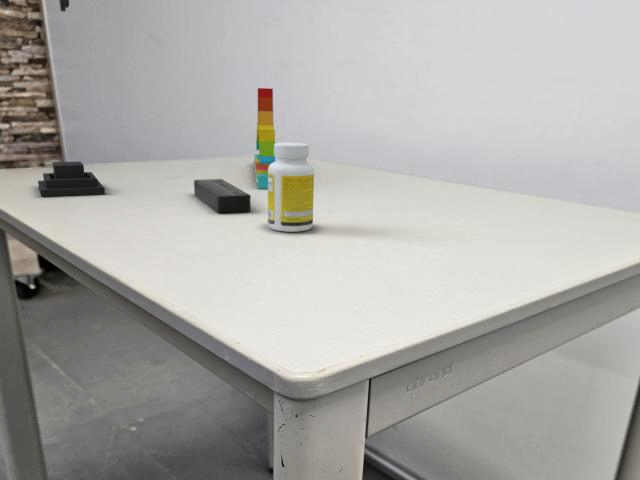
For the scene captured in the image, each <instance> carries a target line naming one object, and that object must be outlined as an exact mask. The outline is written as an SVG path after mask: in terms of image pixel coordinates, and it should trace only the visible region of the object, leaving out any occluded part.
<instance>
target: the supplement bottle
mask: <svg viewBox="0 0 640 480" xmlns="http://www.w3.org/2000/svg"><path fill="white" fill-rule="evenodd" d="M274 154H275V155H274V156H275V159H276V161H275V162H273V163H271V164H270V165H269V167H268V189H267V225H268V227H269V229H271V230H273V231H278V232H287V233H288V232H290V233H291V232H292V233H297V232H298V233H299V232H305V231H308V230H310V229H312V228H313V224H314V188H315V187H314V185H315V181H314V180H315V170H314V167H313V165H312V164H310V162H307V159H308V158H309V155H310V154H309V144H308V143H304V142H302V143H301V142H289V141H288V142H287V141H286V142H275V144H274Z"/></svg>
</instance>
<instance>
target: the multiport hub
mask: <svg viewBox="0 0 640 480" xmlns="http://www.w3.org/2000/svg"><path fill="white" fill-rule="evenodd" d="M193 185H194V186H193V188H194V189H193V190H194V197H196V198H197V199H198V200H200V201H201V202H202V203H204V204H205V205H206V206H208V207H209V208H210V209H211V210H213V211H214V212H216V213H217V214H219V215H228V214H229V215H231V214H232V215H233V214H247V213H248V214H249V213H251V212H252V211H251V209H252V208H251V206H252V205H251V195H250V194H249V193H247V192H246V191H244V190H242V189H240V188H239V187H237V186H235V185H233V184H232V183H229V182H228V181H226V180H224V179H222V178H211V179H210V178H208V179H205V178H204V179H194V180H193Z"/></svg>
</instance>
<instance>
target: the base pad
mask: <svg viewBox="0 0 640 480" xmlns="http://www.w3.org/2000/svg"><path fill="white" fill-rule="evenodd" d="M84 174H85V178H75V179H54V172H44V173H42V177H43V180H38V181H37V185H38V189H39V192H40V196H41V198H47V197H48V198H49V197H50V198H52V197H70V196H71V197H73V196H96V195H97V196H98V195H105V194H106V192H105V187H104V185H103V184H102V183H101V182H100V181H99V180H98V178H97V177H96V176H95V175H94V173H93V172H92V171H84Z"/></svg>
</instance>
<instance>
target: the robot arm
mask: <svg viewBox="0 0 640 480" xmlns="http://www.w3.org/2000/svg"><path fill="white" fill-rule="evenodd" d="M58 2H59V10H60V12H66V11H67V9H68V8H69V7H70V0H59V1H58ZM0 3H1V4H4V8H10V0H0Z"/></svg>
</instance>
